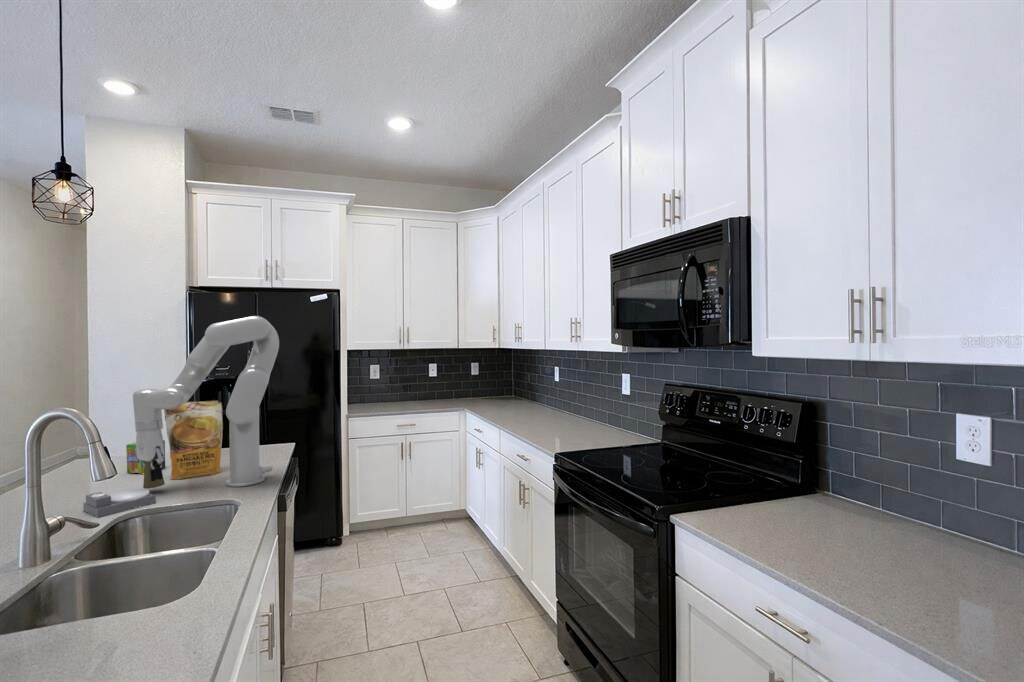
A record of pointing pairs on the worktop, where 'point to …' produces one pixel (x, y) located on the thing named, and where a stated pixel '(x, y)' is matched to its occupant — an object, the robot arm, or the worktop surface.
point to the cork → (147, 477)
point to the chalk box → (133, 462)
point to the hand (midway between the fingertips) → (153, 478)
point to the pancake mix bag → (195, 438)
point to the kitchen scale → (117, 501)
